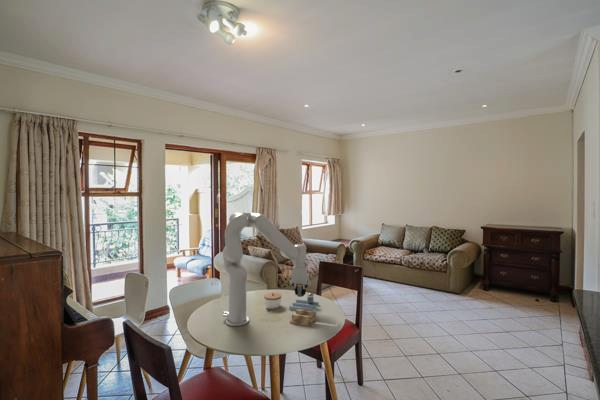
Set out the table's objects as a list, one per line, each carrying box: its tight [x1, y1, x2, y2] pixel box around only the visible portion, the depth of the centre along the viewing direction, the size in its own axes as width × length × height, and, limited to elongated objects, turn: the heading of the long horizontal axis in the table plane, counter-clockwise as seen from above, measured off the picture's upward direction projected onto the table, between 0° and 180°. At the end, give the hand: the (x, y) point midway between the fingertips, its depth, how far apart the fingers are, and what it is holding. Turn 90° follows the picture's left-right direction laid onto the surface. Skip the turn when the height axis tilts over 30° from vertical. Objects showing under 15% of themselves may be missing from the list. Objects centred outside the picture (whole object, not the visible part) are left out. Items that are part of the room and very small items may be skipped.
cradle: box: [289, 309, 317, 327], centre depth 164 cm, size 12×10×4 cm
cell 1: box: [296, 284, 303, 298], centre depth 180 cm, size 4×4×8 cm
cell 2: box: [306, 292, 314, 305], centre depth 184 cm, size 4×4×8 cm
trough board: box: [288, 298, 320, 312], centre depth 182 cm, size 16×13×3 cm
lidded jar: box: [263, 292, 282, 310], centre depth 184 cm, size 11×11×9 cm
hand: (300, 294), depth 180 cm, fingers closed on cell 1, 3 cm apart
